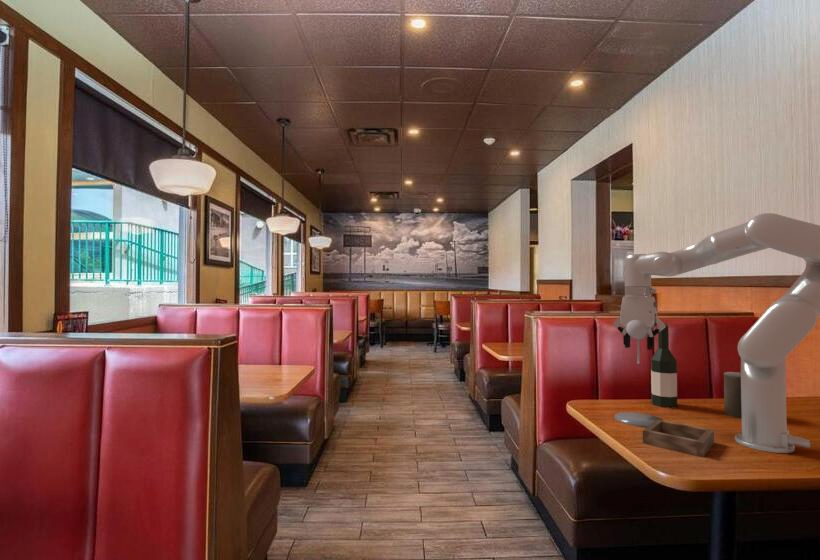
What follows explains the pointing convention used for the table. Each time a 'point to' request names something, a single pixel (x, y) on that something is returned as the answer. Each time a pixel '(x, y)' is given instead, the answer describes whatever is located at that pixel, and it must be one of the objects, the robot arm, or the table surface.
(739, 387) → the pillar candle
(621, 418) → the gray round disc
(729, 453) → the table surface
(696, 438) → the frame
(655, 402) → the wine bottle
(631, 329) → the eyeball on stick
